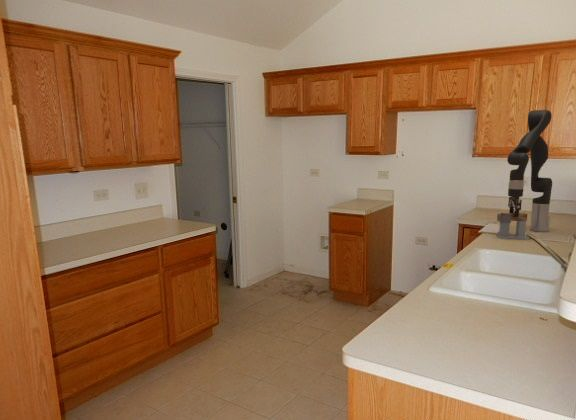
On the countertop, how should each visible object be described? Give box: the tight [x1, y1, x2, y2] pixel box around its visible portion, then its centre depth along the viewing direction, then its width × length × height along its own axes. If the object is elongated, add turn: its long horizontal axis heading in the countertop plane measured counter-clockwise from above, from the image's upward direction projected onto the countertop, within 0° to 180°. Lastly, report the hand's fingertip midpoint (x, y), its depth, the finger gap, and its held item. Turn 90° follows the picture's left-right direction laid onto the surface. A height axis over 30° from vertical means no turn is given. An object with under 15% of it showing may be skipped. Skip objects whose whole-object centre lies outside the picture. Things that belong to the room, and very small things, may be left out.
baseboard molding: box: [478, 221, 500, 235], centre depth 264 cm, size 31×3×12 cm
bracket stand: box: [495, 213, 530, 240], centre depth 238 cm, size 15×8×13 cm, turn 79°
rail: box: [500, 212, 528, 222], centre depth 237 cm, size 13×4×4 cm, turn 81°
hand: (513, 216), depth 237 cm, fingers open, 8 cm apart
